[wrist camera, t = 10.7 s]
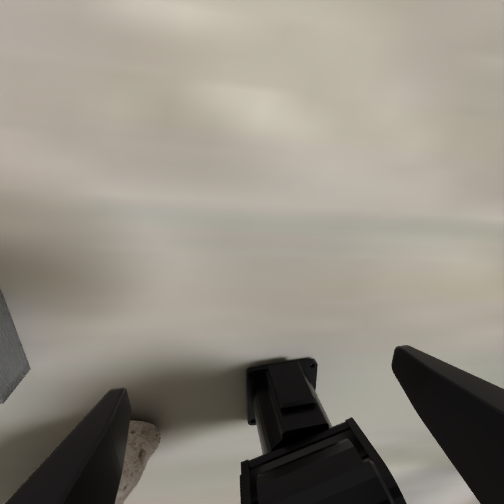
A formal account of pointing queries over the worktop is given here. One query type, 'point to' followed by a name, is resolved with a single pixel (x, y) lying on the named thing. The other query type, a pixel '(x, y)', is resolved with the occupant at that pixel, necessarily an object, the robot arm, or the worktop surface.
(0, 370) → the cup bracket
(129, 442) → the pumice stone
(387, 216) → the worktop surface
